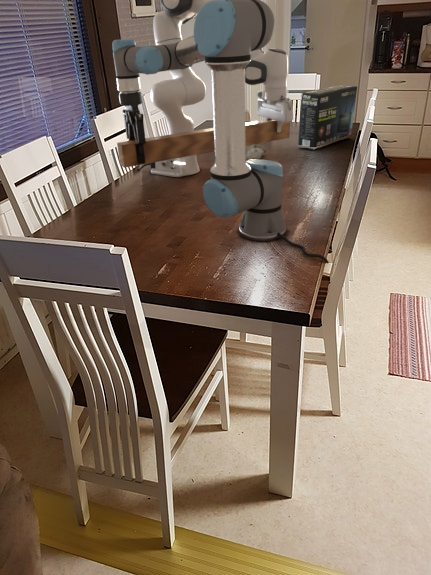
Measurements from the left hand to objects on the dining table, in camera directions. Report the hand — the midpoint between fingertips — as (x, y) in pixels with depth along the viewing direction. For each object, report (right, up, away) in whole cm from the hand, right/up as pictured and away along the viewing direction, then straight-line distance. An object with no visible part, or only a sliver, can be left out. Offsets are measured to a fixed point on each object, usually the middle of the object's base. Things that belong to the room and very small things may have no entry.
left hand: (273, 130), depth 189 cm
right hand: (-52, -19, -24) cm, 60 cm away
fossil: (-9, -1, +36) cm, 38 cm away
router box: (+35, +12, +56) cm, 67 cm away
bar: (-26, -11, -11) cm, 30 cm away
